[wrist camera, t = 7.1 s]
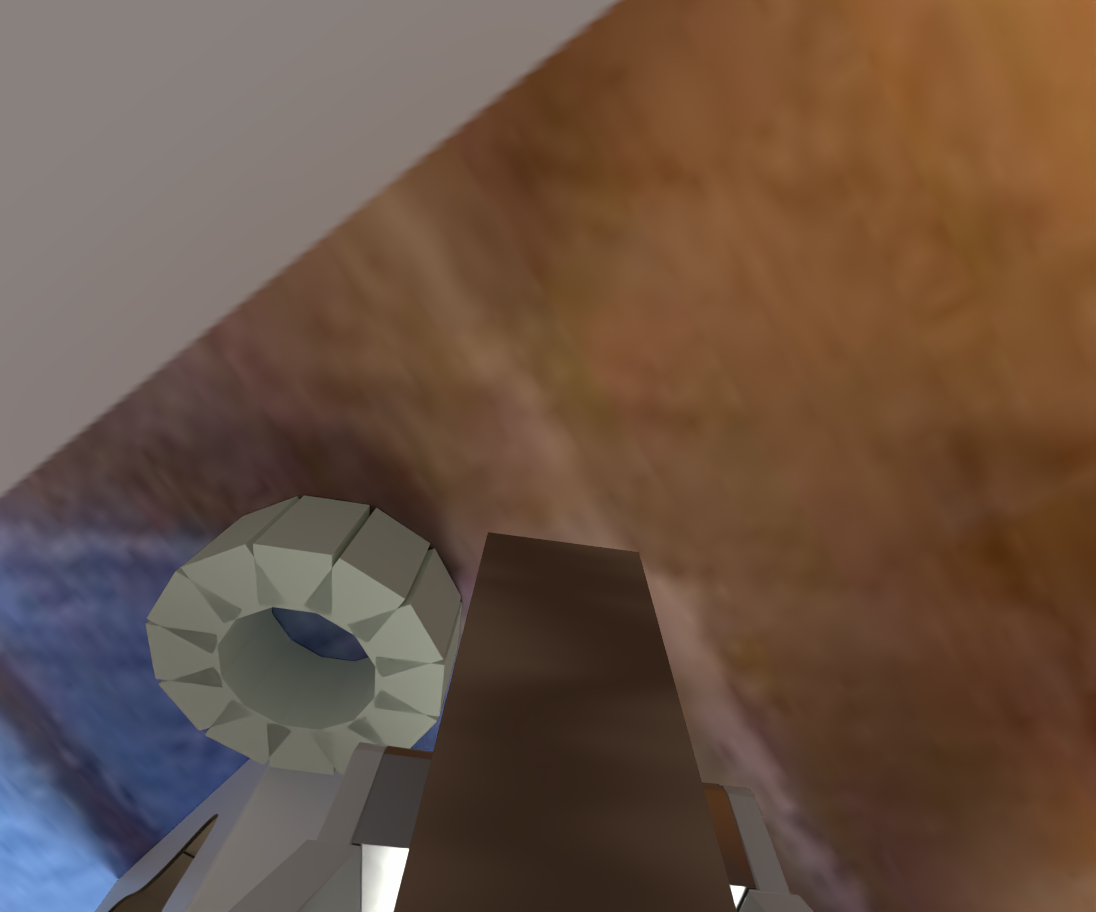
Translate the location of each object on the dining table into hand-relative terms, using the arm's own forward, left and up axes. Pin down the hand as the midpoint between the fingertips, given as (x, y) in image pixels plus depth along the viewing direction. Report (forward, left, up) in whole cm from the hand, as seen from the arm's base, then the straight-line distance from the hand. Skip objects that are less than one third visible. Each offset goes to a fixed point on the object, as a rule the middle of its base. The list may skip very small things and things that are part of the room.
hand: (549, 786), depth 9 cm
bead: (+9, +9, -14) cm, 19 cm away
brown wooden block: (0, 0, -5) cm, 5 cm away
